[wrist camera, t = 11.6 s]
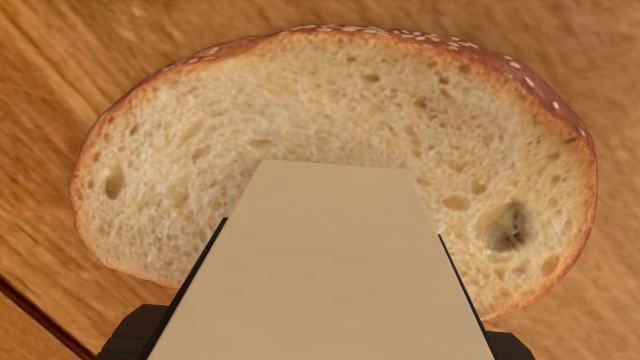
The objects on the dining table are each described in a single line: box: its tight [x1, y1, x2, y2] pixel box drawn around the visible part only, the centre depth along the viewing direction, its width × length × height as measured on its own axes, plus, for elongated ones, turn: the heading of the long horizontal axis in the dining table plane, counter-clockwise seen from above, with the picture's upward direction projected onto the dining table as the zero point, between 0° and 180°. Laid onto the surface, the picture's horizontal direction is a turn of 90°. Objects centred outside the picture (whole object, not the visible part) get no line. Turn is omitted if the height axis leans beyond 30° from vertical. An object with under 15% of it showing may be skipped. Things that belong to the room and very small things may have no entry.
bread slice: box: [68, 24, 598, 321], centre depth 17 cm, size 18×18×4 cm
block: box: [147, 159, 494, 360], centre depth 11 cm, size 5×5×10 cm
